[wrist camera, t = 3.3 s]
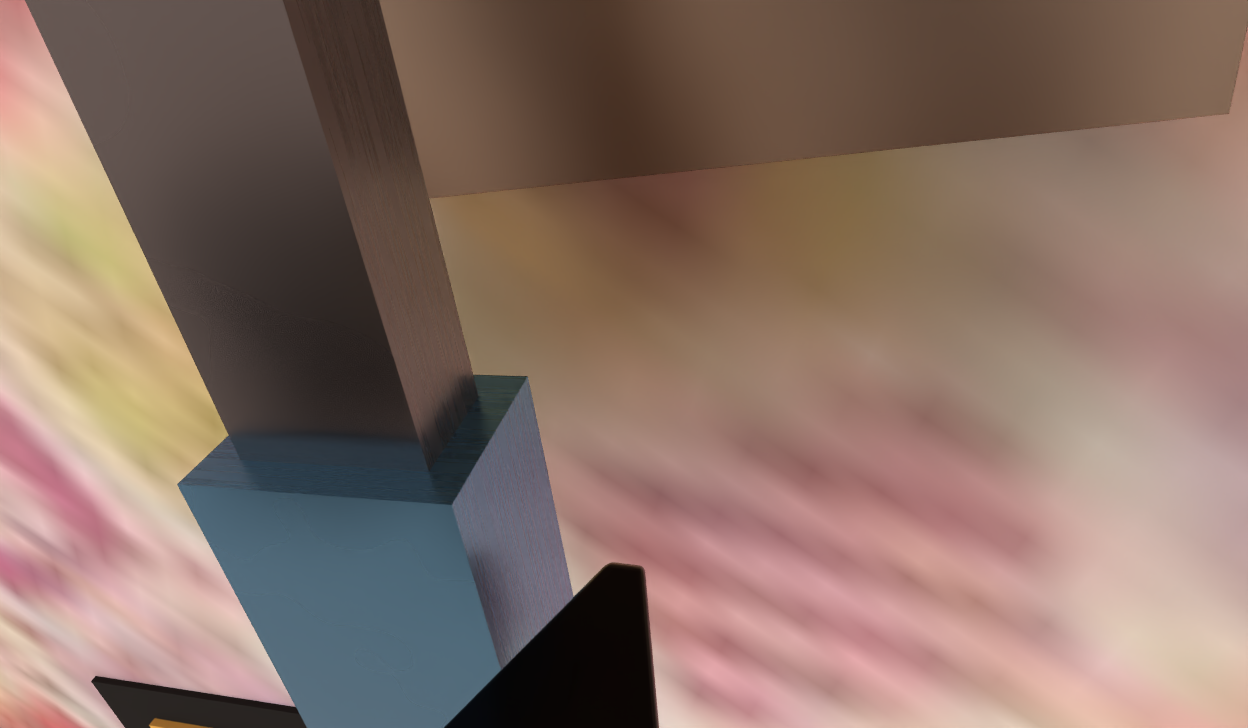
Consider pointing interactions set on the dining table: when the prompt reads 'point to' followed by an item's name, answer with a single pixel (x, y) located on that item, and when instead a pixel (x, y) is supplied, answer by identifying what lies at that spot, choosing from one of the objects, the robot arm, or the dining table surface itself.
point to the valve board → (782, 79)
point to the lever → (322, 349)
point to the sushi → (189, 708)
